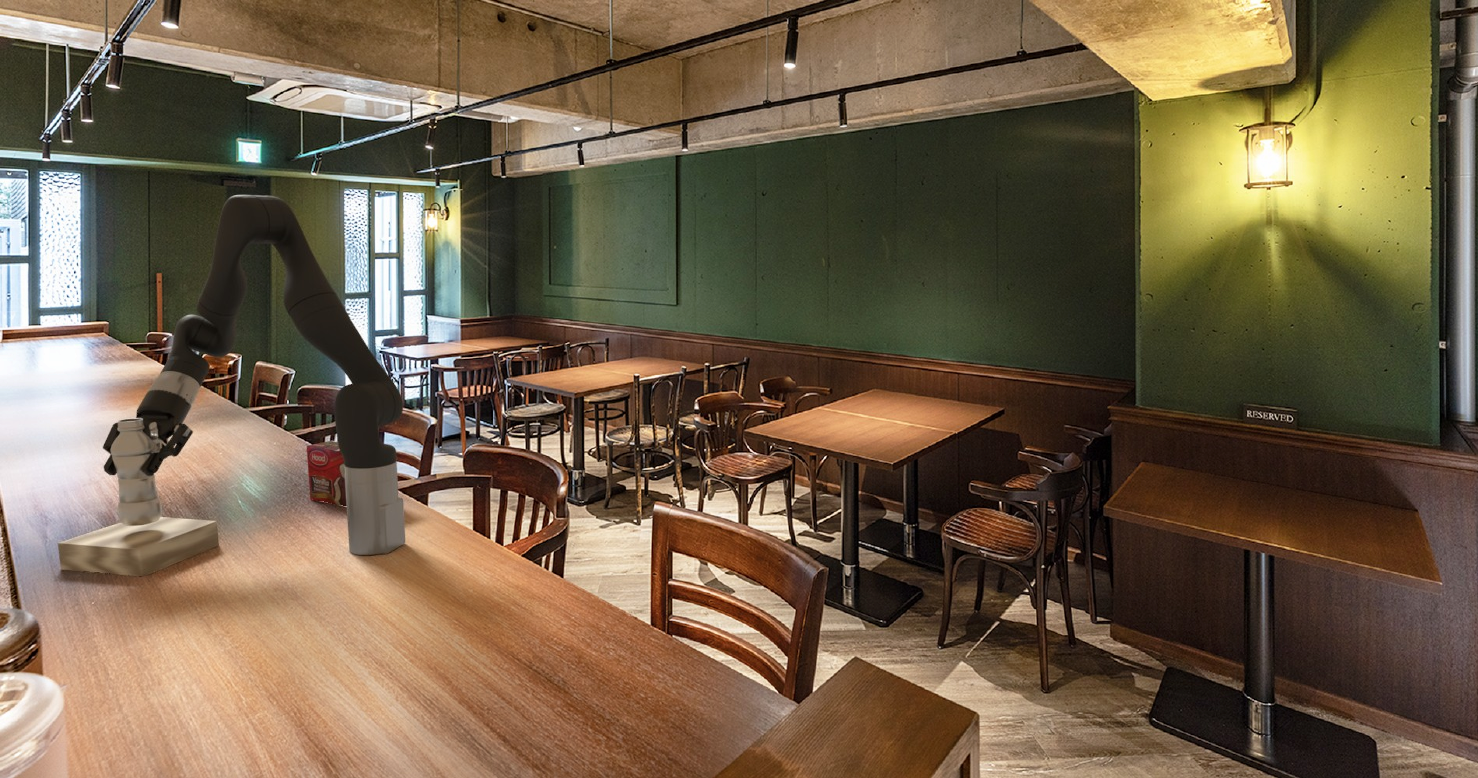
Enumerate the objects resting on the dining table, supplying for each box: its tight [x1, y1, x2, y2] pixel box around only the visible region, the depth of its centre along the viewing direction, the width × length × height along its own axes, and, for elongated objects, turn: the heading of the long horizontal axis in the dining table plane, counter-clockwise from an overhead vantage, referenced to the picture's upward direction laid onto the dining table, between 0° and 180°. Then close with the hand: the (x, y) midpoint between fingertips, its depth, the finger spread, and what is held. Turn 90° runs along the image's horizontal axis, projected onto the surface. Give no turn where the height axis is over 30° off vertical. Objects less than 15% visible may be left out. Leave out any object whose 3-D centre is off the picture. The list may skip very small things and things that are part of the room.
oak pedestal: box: [57, 516, 220, 578], centre depth 139 cm, size 17×16×5 cm
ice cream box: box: [306, 440, 347, 506], centre depth 174 cm, size 20×6×13 cm, turn 65°
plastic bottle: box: [110, 417, 163, 526], centre depth 137 cm, size 6×7×20 cm
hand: (128, 473), depth 135 cm, fingers closed on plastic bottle, 6 cm apart
